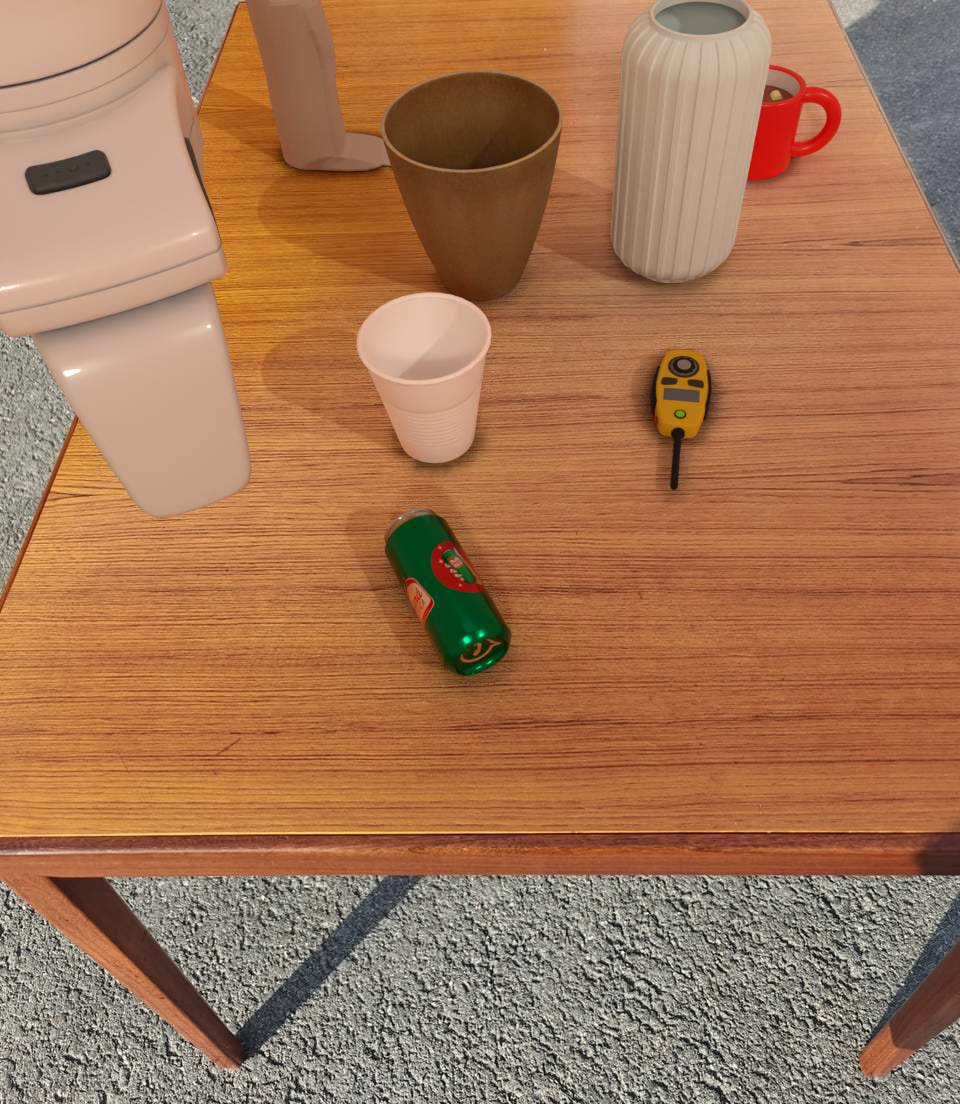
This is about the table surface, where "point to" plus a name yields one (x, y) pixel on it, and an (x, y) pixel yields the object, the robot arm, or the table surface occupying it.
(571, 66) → the table surface
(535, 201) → the plant pot
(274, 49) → the pink piece
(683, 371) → the yellow walkie talkie
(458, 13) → the table surface
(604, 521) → the table surface
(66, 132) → the robot arm
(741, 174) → the vase
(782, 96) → the mug
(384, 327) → the cup
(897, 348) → the table surface
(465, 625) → the soda can
